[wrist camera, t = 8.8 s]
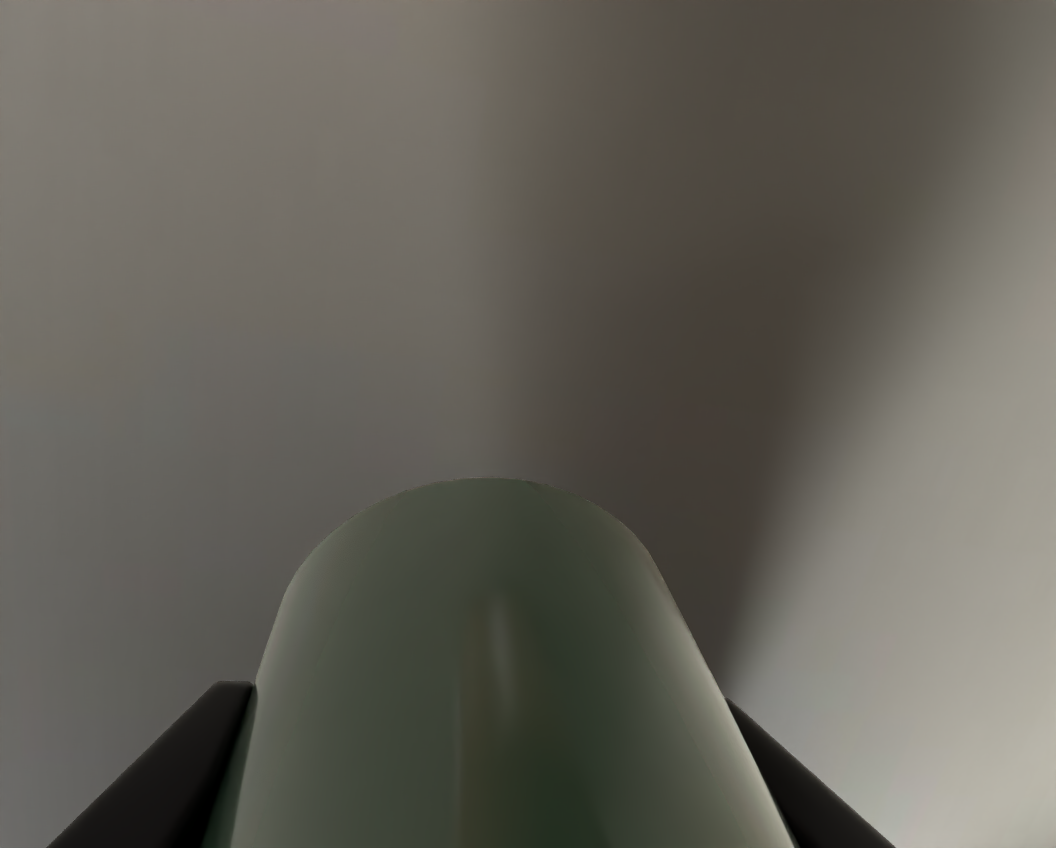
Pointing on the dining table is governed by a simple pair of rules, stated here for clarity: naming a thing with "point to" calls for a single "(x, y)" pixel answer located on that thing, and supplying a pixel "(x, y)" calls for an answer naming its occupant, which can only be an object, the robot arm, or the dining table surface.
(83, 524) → the dining table surface
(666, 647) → the jar
